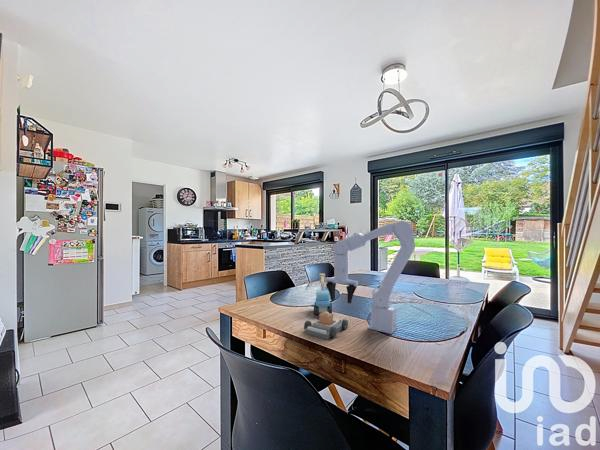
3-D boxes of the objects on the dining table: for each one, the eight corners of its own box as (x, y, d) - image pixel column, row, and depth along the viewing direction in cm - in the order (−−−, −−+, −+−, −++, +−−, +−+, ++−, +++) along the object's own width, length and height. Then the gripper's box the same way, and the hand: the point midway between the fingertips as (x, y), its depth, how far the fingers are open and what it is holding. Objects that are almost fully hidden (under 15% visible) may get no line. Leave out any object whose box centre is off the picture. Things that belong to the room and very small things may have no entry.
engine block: (333, 325, 103) (333, 312, 103) (328, 328, 99) (328, 314, 100) (324, 323, 105) (324, 310, 105) (319, 326, 102) (319, 312, 102)
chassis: (349, 326, 105) (349, 317, 106) (330, 340, 92) (330, 330, 92) (322, 320, 113) (322, 312, 113) (302, 332, 99) (302, 322, 99)
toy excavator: (331, 306, 134) (331, 273, 134) (332, 316, 118) (332, 279, 118) (314, 305, 135) (315, 272, 135) (313, 316, 118) (313, 278, 119)
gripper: (321, 268, 110) (321, 300, 110) (353, 271, 102) (353, 306, 101) (329, 266, 116) (329, 297, 116) (360, 269, 107) (360, 302, 107)
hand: (341, 301), depth 109 cm, fingers open, 7 cm apart
